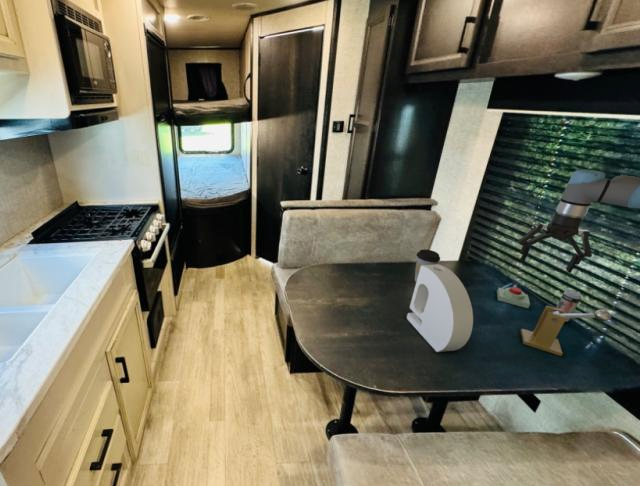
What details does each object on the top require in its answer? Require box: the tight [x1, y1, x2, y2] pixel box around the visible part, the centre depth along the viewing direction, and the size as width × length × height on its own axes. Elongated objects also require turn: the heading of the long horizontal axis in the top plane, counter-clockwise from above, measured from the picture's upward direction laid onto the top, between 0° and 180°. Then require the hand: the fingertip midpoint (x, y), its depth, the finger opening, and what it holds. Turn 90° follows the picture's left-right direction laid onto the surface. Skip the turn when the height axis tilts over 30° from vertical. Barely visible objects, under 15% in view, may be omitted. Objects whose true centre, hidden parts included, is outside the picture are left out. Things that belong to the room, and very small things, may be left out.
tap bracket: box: [520, 305, 566, 357], centre depth 108 cm, size 10×8×14 cm
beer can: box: [555, 289, 582, 322], centre depth 120 cm, size 5×5×12 cm
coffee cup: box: [414, 248, 441, 283], centre depth 144 cm, size 9×9×15 cm
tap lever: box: [547, 309, 612, 322], centre depth 102 cm, size 14×4×4 cm, turn 55°
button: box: [510, 286, 523, 295], centre depth 132 cm, size 4×4×2 cm
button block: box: [496, 287, 531, 309], centre depth 133 cm, size 10×8×4 cm
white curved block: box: [406, 263, 474, 353], centre depth 109 cm, size 7×21×25 cm, turn 6°
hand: (544, 266), depth 119 cm, fingers open, 13 cm apart
